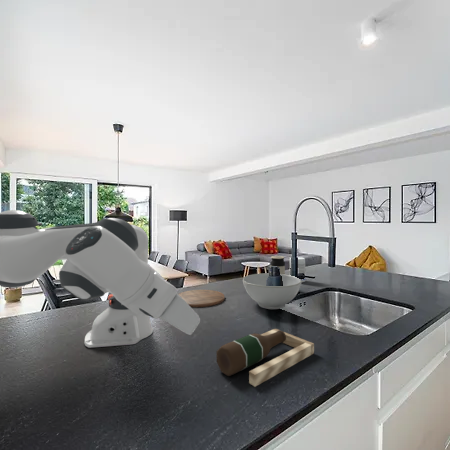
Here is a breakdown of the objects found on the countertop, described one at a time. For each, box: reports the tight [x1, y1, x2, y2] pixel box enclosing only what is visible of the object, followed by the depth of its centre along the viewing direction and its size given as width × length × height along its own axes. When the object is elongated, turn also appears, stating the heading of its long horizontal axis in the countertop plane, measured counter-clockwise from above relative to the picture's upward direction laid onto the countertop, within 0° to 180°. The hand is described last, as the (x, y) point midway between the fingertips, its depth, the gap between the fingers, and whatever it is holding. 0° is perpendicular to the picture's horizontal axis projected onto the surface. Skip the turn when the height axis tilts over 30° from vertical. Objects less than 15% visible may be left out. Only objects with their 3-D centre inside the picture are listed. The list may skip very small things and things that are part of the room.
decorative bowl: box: [242, 273, 302, 310], centre depth 131 cm, size 27×27×12 cm
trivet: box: [177, 289, 226, 308], centre depth 142 cm, size 25×25×2 cm
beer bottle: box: [215, 329, 286, 377], centre depth 82 cm, size 8×8×24 cm
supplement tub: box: [289, 256, 307, 284], centre depth 177 cm, size 10×10×15 cm
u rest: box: [248, 328, 315, 388], centre depth 83 cm, size 26×15×3 cm, turn 130°
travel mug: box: [270, 255, 286, 275], centre depth 161 cm, size 8×8×18 cm
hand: (185, 325), depth 64 cm, fingers closed
